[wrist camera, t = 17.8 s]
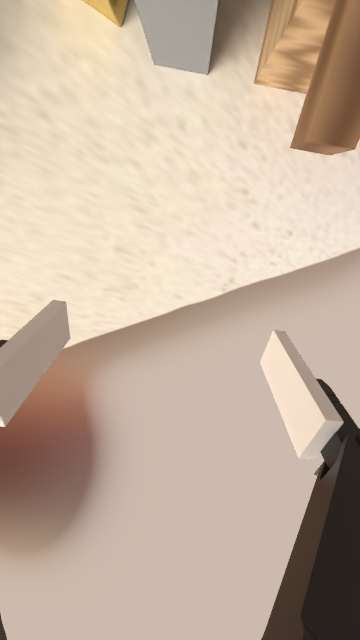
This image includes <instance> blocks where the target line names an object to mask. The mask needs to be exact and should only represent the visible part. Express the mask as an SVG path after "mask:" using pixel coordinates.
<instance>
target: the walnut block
mask: <svg viewBox="0 0 360 640" xmlns="http://www.w3.org/2000/svg"><path fill="white" fill-rule="evenodd" d="M359 138H360V0H336V1H335V4H334V7H333V11H332V14H331V17H330V20H329V24H328V27H327V30H326V33H325V37H324V40H323V43H322V46H321V50H320V53H319V56H318V59H317V62H316V66H315V69H314V72H313V75H312V79H311V82H310V85H309V88H308V92H307V95H306V98H305V101H304V105H303V108H302V111H301V114H300V118H299V121H298V124H297V127H296V131H295V134H294V137H293V140H292V143H291V147H290V148H293V149H298V150H304V151H309V152H315V153H320V154H326V155H333V154H338V153H342V152H346V151H350V150H354V149H355V148H356V145H357V143H358V141H359Z"/></svg>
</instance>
